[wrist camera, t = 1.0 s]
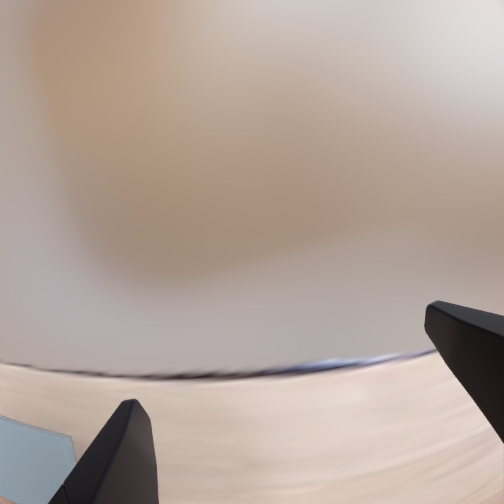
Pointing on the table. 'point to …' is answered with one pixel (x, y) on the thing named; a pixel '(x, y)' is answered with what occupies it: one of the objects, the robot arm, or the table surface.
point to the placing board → (32, 462)
